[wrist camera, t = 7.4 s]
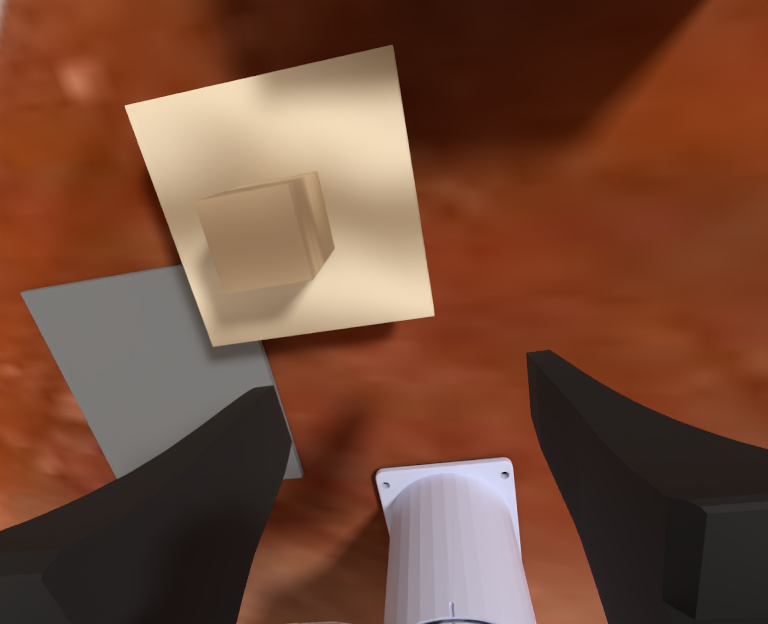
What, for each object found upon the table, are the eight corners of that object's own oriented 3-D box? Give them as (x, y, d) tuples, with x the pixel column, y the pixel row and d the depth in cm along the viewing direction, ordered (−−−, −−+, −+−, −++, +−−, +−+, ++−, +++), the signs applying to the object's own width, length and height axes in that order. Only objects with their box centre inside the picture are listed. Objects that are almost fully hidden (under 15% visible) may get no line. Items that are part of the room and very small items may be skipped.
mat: (303, 472, 27) (302, 477, 27) (128, 489, 29) (124, 494, 29) (234, 255, 22) (231, 257, 22) (26, 290, 24) (20, 292, 23)
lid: (433, 308, 19) (438, 362, 15) (220, 338, 21) (165, 396, 16) (393, 48, 16) (383, 16, 11) (137, 106, 17) (37, 98, 12)
